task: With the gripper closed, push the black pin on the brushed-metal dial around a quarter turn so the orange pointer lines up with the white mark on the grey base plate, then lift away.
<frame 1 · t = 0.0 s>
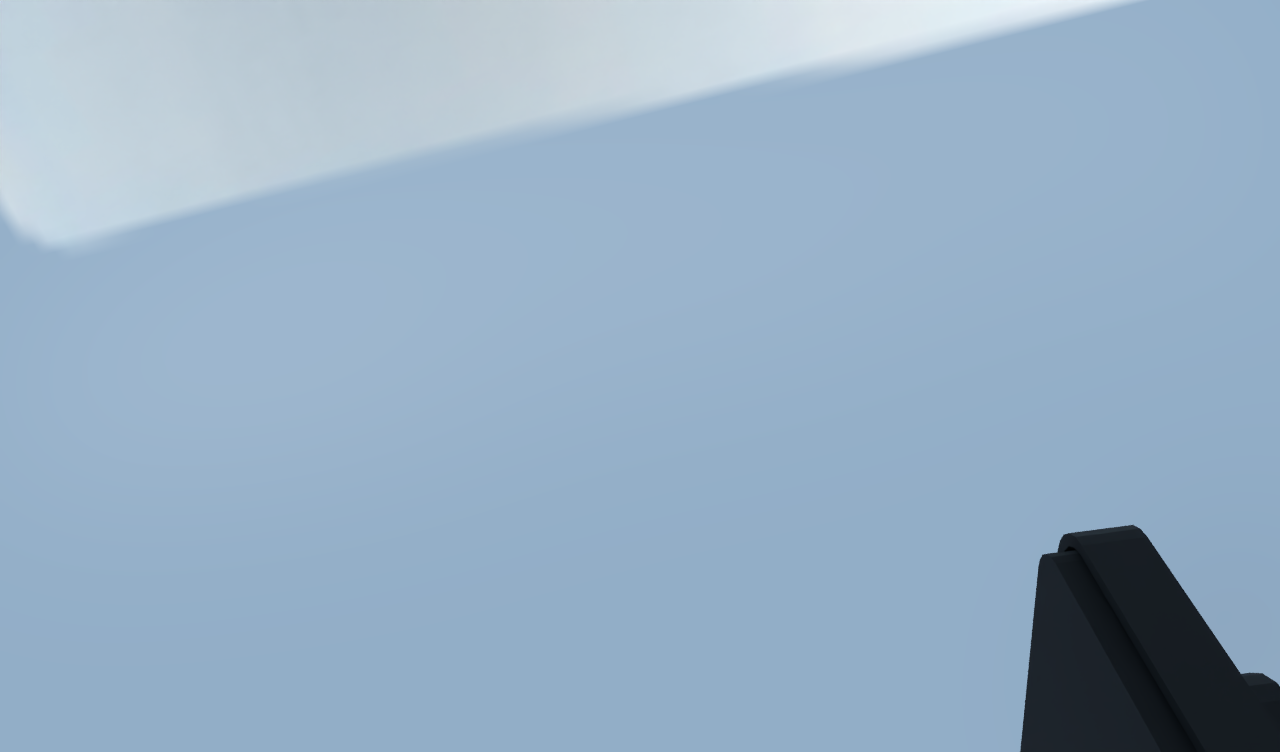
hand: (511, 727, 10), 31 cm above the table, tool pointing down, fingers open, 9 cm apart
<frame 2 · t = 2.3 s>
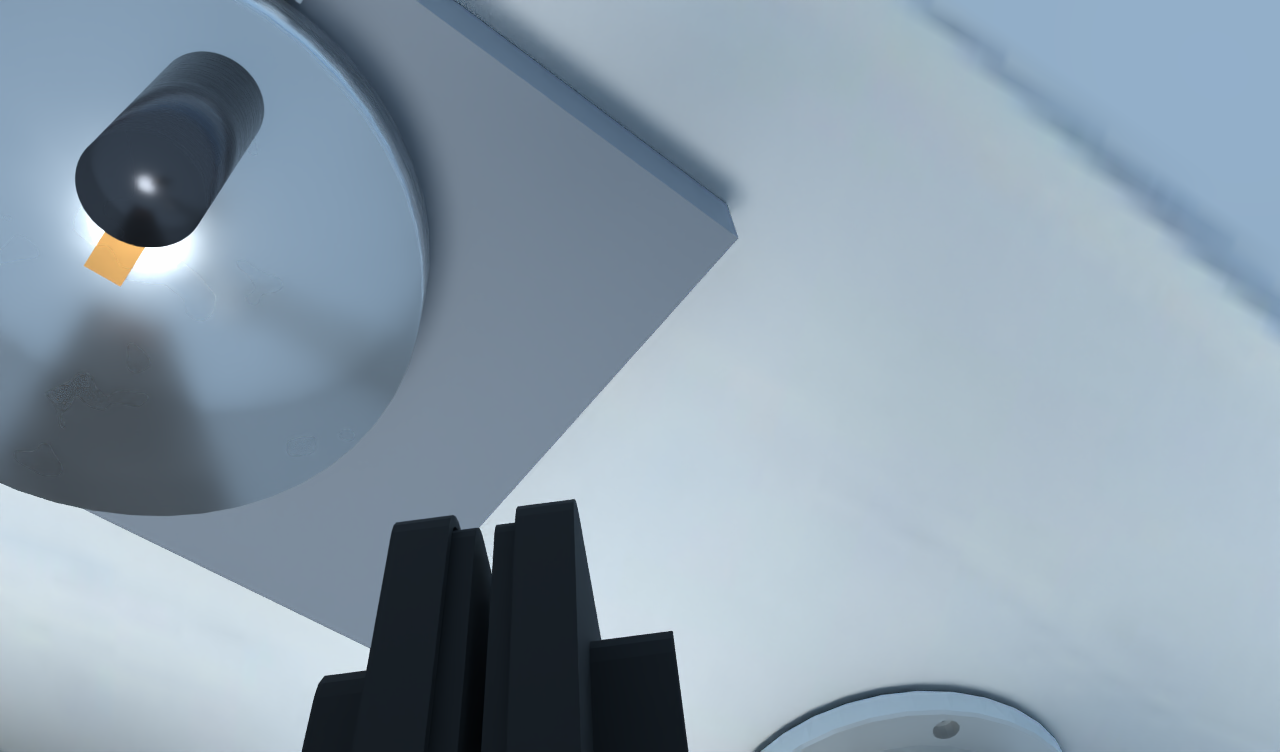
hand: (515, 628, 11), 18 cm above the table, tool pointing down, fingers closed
grey base plate: (163, 194, 28), on the table
dial: (84, 299, 23), point 5 cm above the table, hinge at 0.0°
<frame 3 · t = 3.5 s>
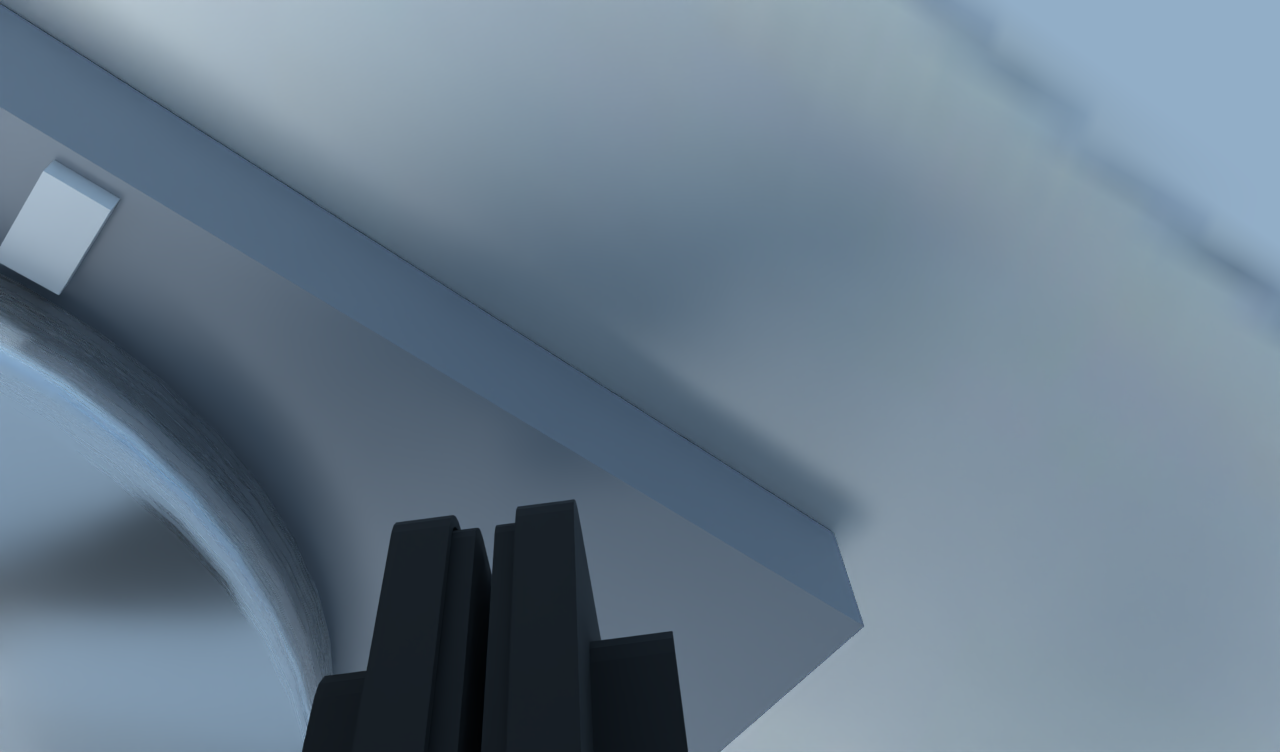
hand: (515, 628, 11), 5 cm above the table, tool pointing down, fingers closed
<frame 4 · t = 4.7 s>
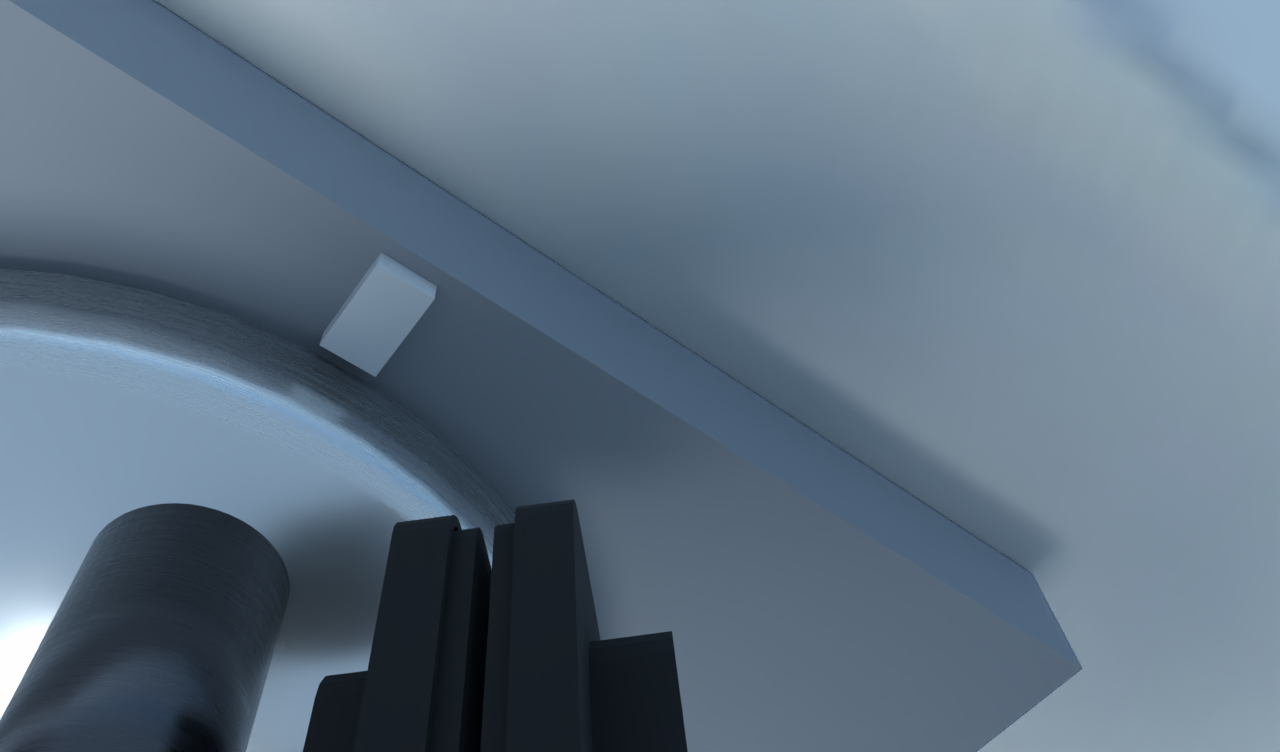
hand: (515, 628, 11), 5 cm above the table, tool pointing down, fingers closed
grey base plate: (141, 591, 17), on the table
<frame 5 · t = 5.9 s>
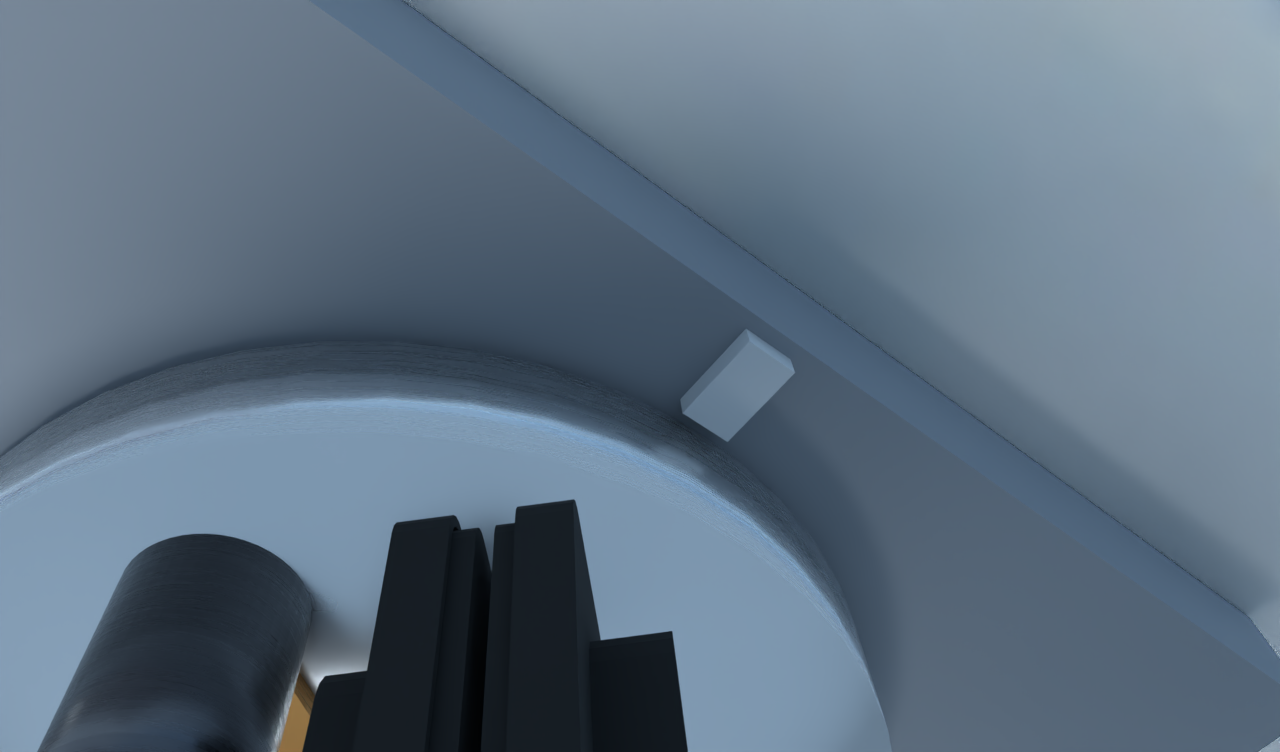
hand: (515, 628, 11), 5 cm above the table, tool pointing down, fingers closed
grey base plate: (418, 628, 18), on the table
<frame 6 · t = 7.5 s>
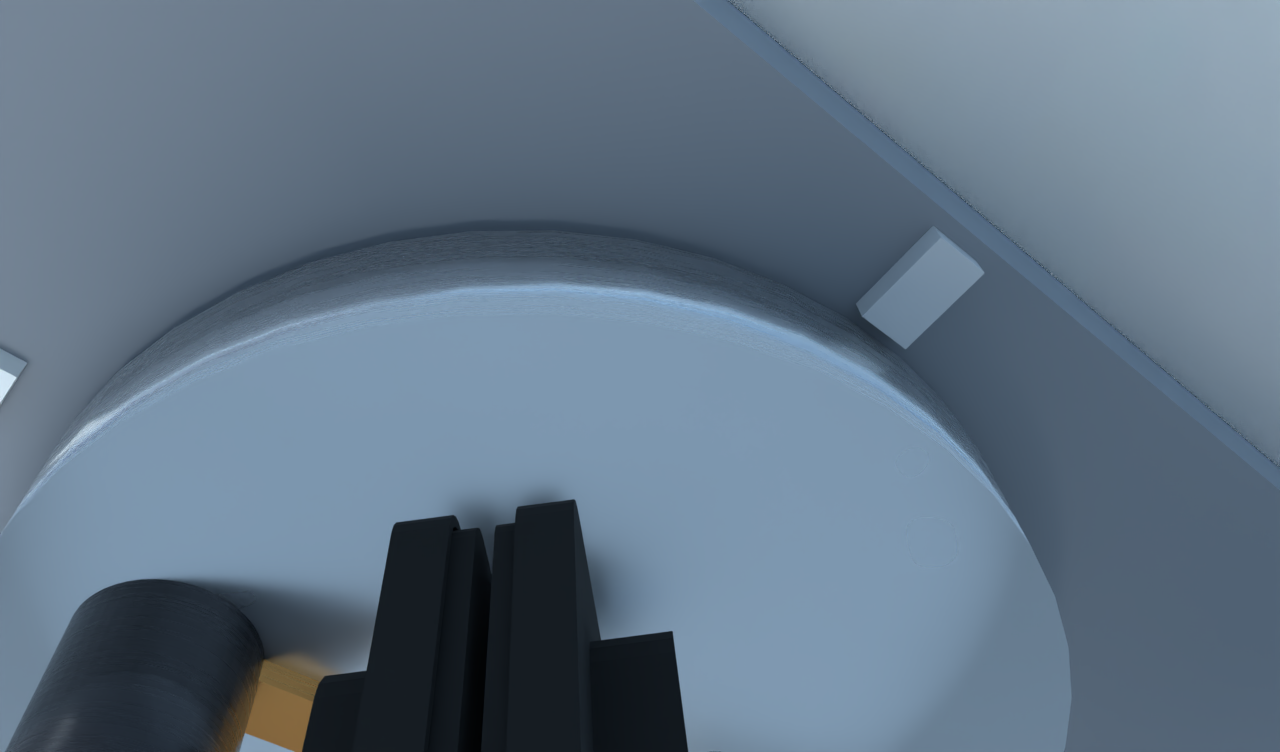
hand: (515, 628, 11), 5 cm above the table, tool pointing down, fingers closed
grey base plate: (533, 563, 17), on the table
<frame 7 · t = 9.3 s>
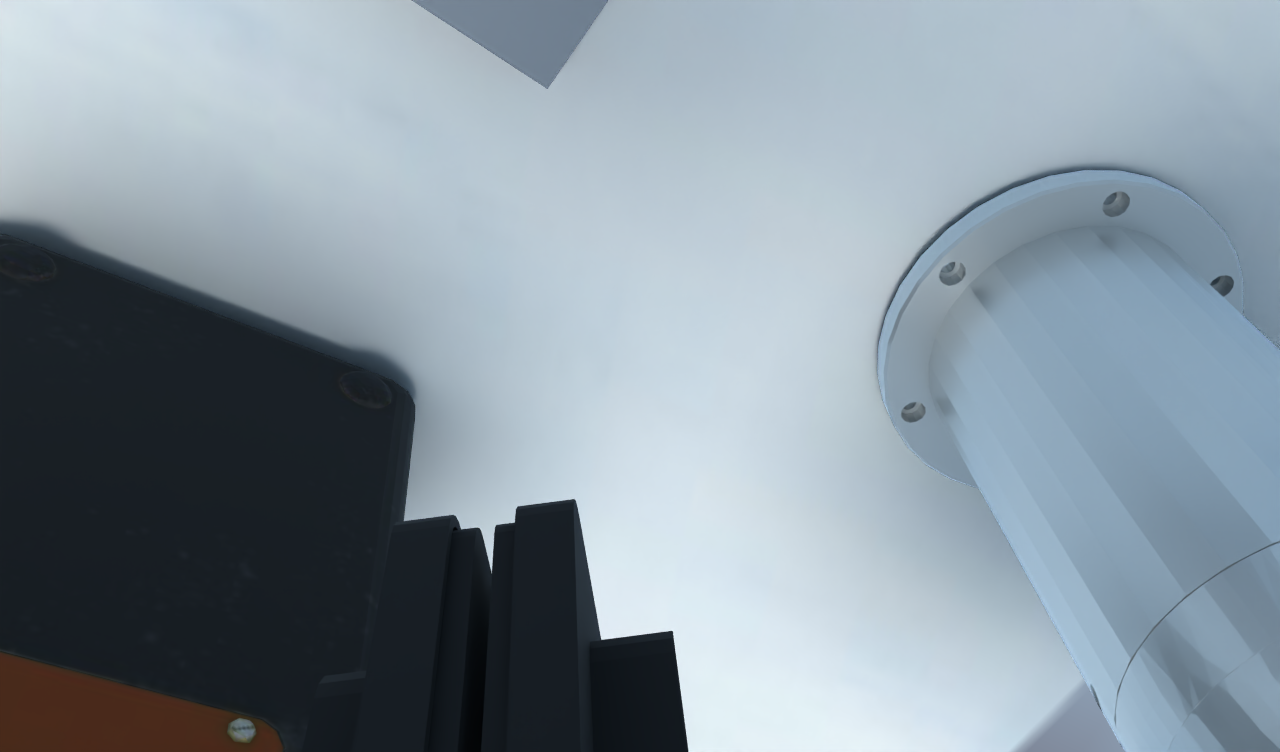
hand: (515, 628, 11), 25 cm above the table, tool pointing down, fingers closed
voltmeter: (180, 386, 39), on the table
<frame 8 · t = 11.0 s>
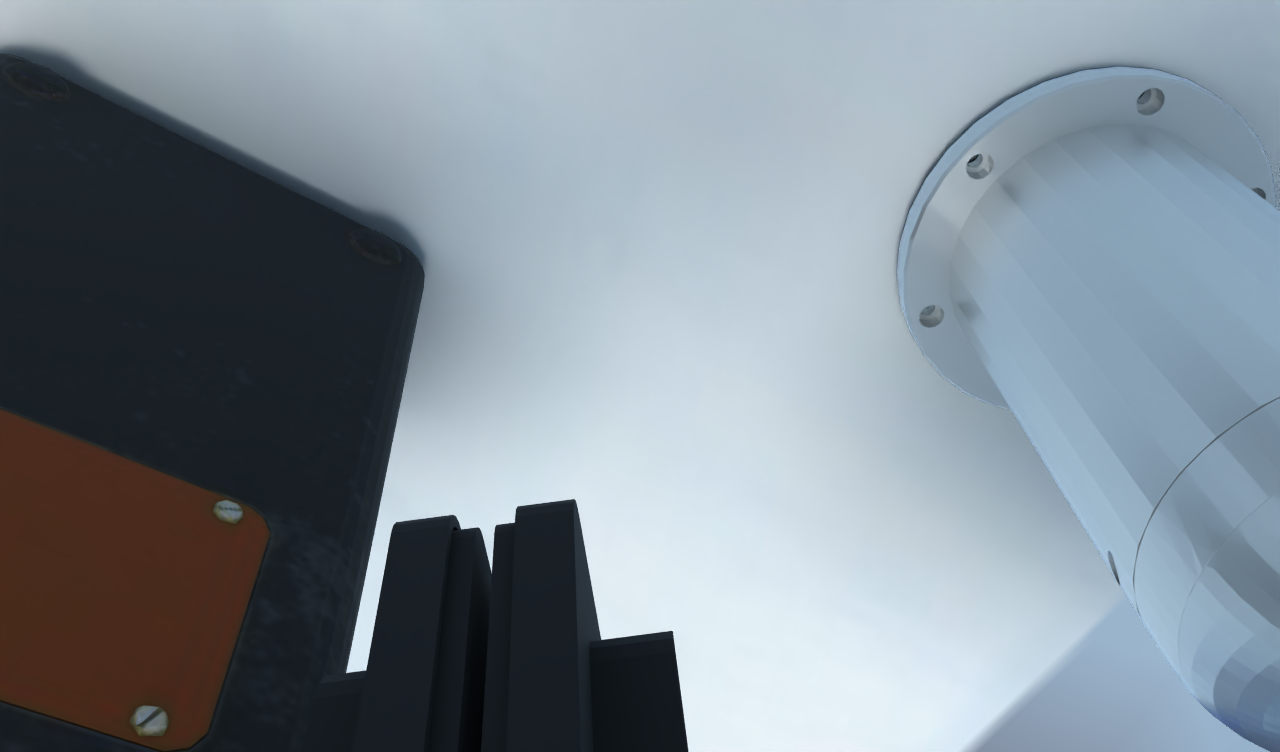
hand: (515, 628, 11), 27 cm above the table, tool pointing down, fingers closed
voltmeter: (187, 241, 38), on the table
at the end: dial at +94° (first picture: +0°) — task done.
